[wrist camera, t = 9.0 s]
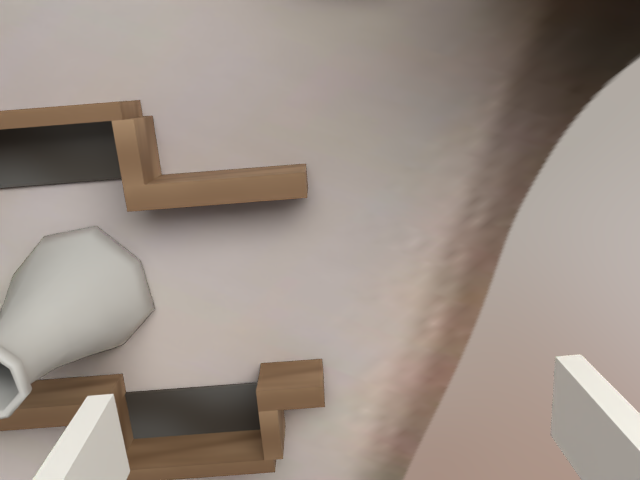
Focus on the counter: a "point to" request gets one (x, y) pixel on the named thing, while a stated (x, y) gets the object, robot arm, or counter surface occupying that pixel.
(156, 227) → the counter surface
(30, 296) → the flask
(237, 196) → the box
